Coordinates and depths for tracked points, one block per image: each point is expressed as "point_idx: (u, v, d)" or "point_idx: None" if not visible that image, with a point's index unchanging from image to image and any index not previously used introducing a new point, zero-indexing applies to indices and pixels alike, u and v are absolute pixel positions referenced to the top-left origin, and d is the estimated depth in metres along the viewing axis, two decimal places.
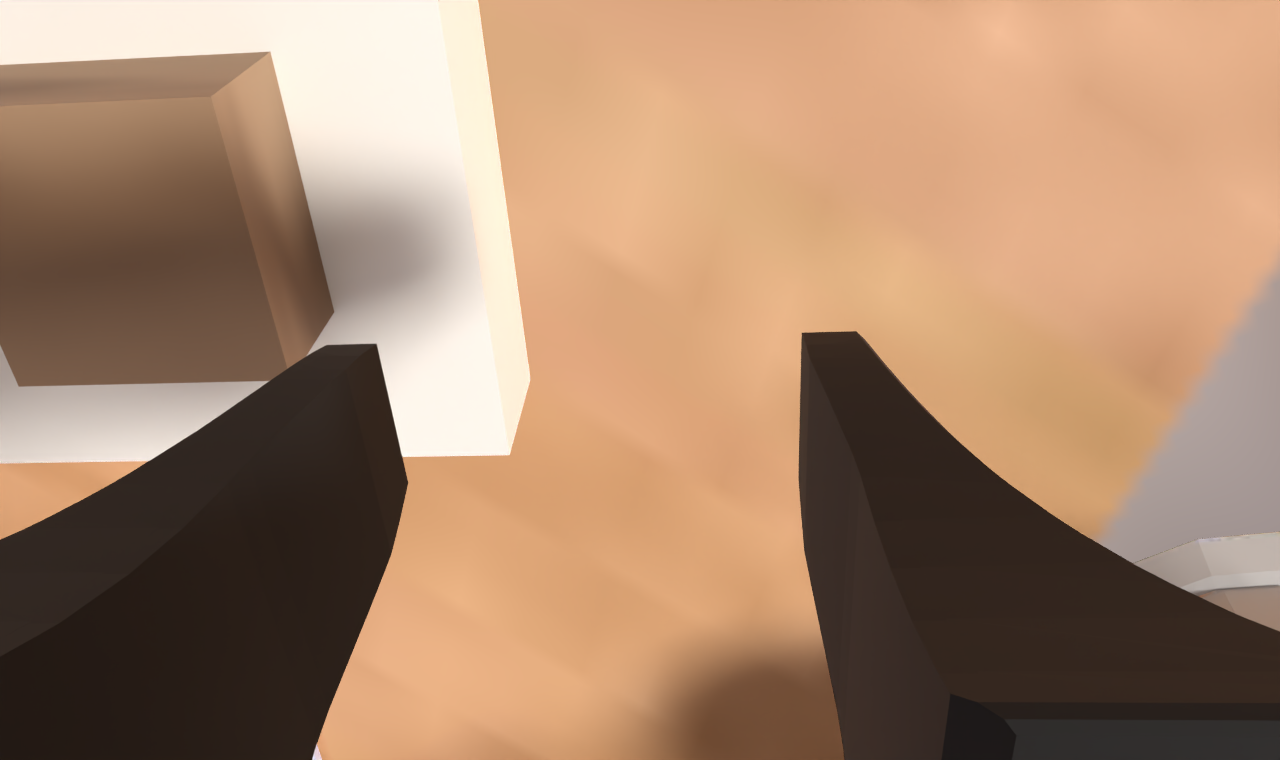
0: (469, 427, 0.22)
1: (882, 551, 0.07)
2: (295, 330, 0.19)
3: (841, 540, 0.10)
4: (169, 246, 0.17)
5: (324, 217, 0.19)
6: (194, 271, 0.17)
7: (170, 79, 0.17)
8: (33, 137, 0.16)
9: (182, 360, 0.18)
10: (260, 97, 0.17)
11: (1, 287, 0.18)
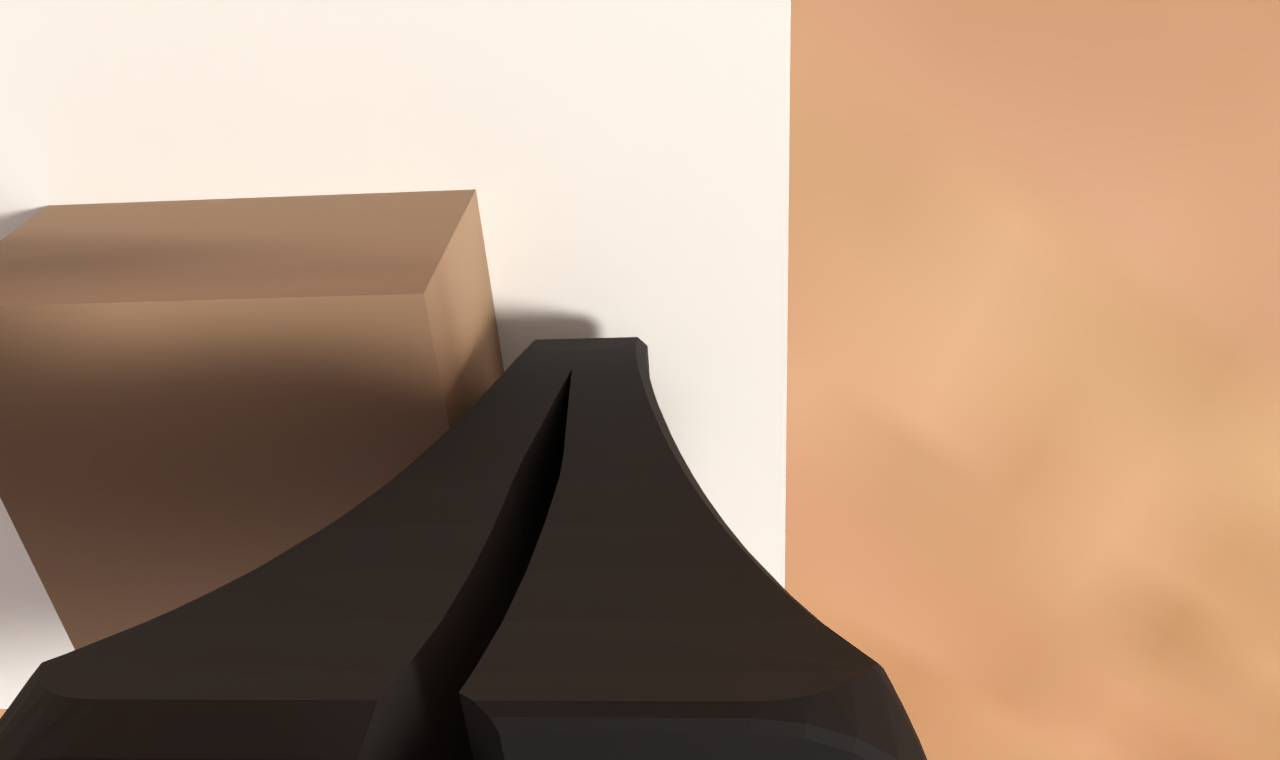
0: None
1: (535, 554, 0.07)
2: None
3: None
4: (331, 502, 0.11)
5: None
6: None
7: (340, 248, 0.11)
8: (130, 349, 0.10)
9: None
10: (469, 265, 0.11)
11: (66, 551, 0.12)
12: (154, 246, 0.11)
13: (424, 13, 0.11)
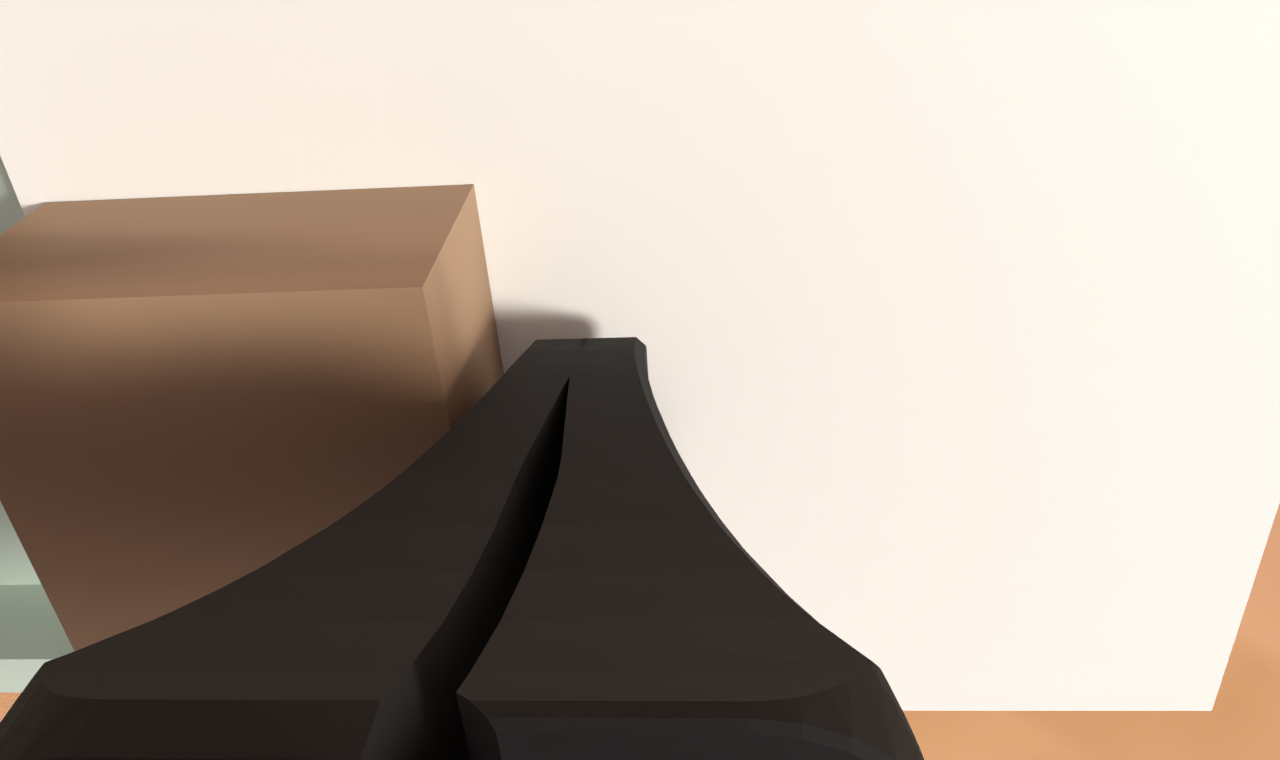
0: (1168, 676, 0.15)
1: (533, 554, 0.07)
2: None
3: None
4: (331, 498, 0.11)
5: (1075, 403, 0.13)
6: None
7: (338, 242, 0.10)
8: (126, 345, 0.10)
9: None
10: (466, 259, 0.11)
11: (64, 549, 0.11)
12: (151, 242, 0.11)
13: None
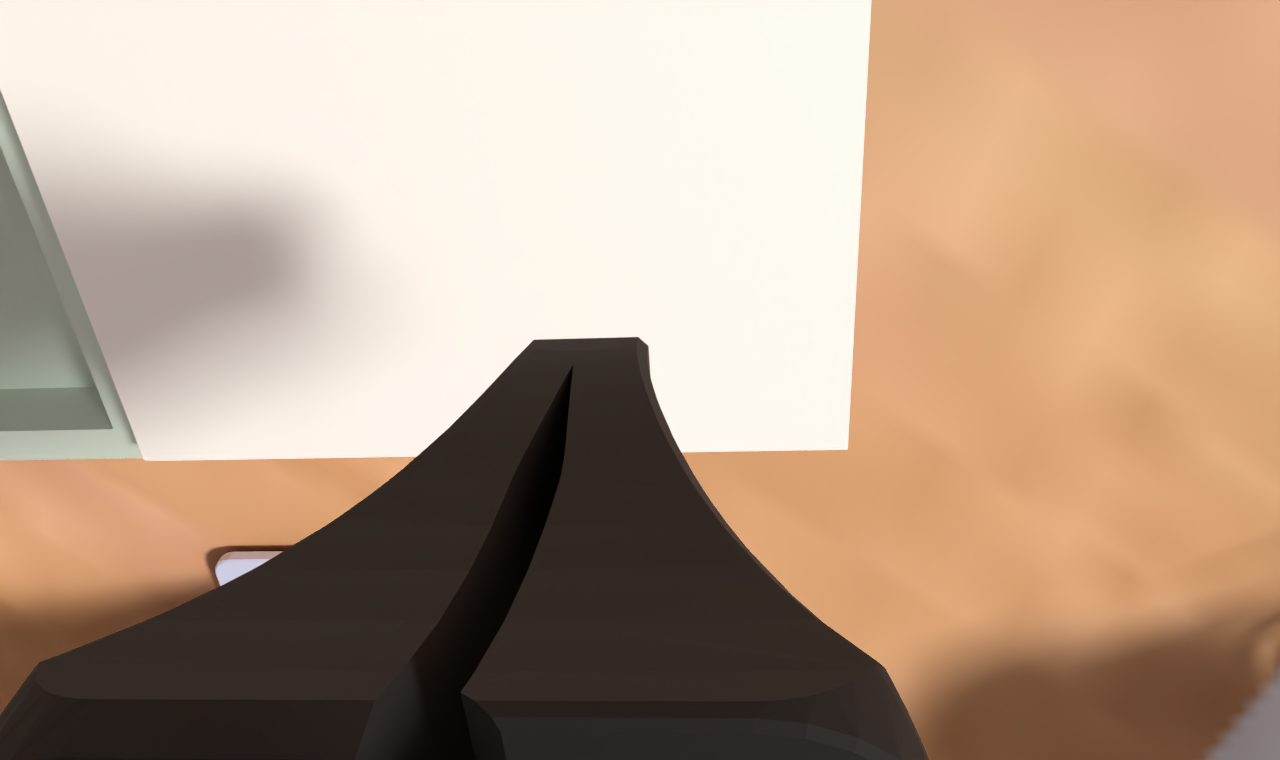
0: (811, 421, 0.21)
1: (536, 554, 0.07)
2: None
3: None
4: None
5: (704, 203, 0.19)
6: None
7: None
8: None
9: None
10: None
11: None
12: None
13: None
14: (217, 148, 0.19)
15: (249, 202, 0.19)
